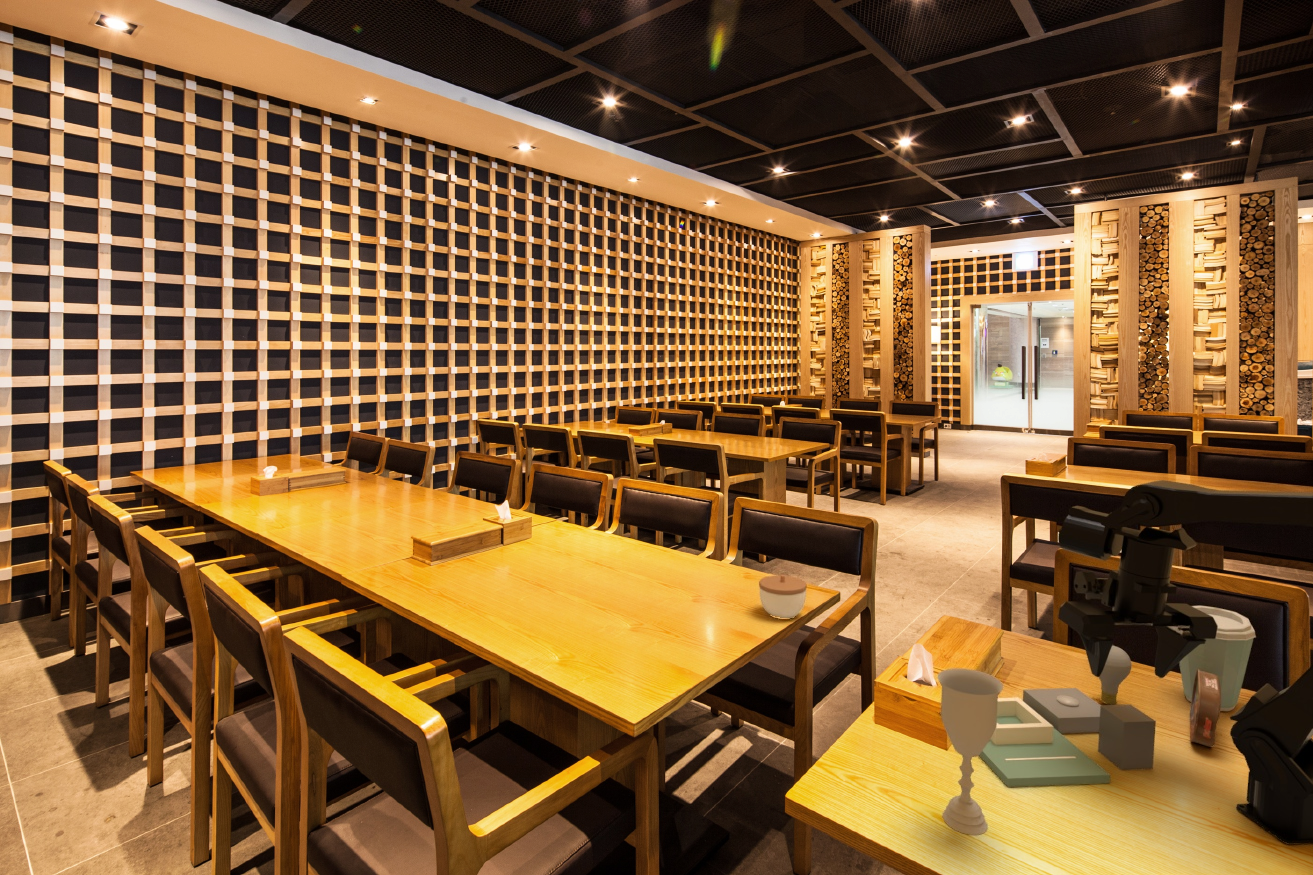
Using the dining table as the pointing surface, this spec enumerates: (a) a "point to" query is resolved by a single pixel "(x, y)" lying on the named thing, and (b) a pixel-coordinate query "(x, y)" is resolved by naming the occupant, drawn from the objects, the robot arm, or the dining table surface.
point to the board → (1035, 751)
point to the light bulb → (1114, 674)
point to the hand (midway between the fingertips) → (1127, 675)
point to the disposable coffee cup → (1221, 655)
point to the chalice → (968, 736)
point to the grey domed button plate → (1065, 709)
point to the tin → (1205, 708)
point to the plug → (1126, 737)
